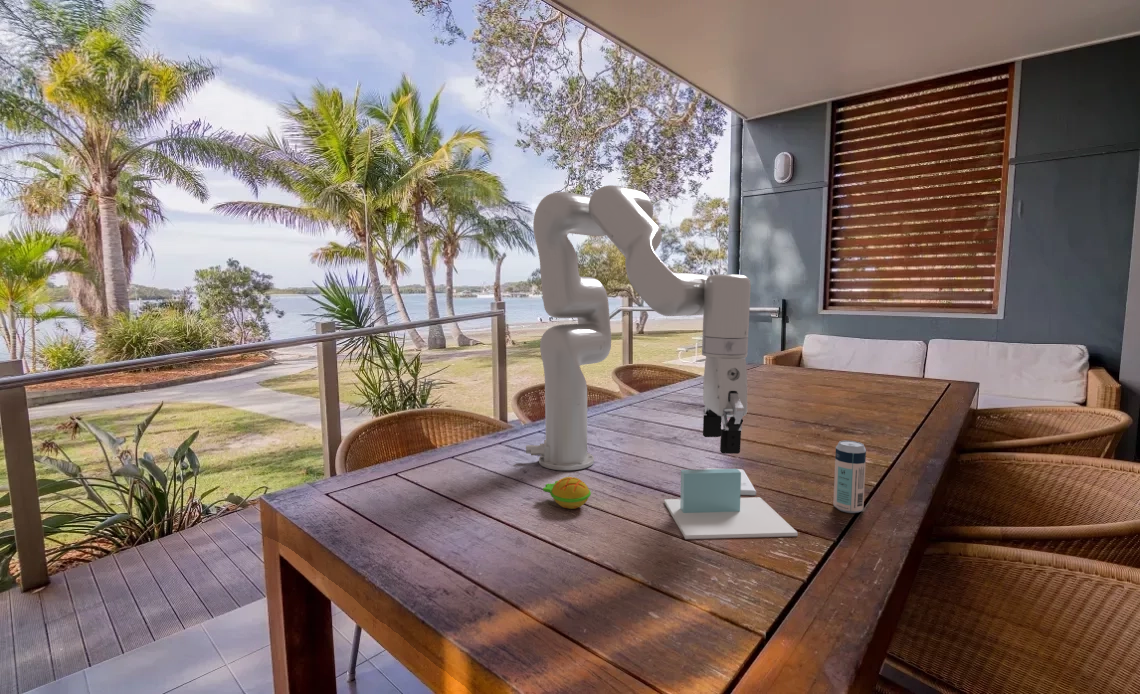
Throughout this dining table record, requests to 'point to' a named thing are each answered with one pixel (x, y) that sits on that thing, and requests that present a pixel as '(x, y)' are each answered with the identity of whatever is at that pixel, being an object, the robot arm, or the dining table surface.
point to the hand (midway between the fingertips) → (720, 444)
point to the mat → (731, 521)
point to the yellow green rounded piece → (569, 492)
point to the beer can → (849, 476)
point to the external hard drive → (745, 484)
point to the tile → (710, 490)
